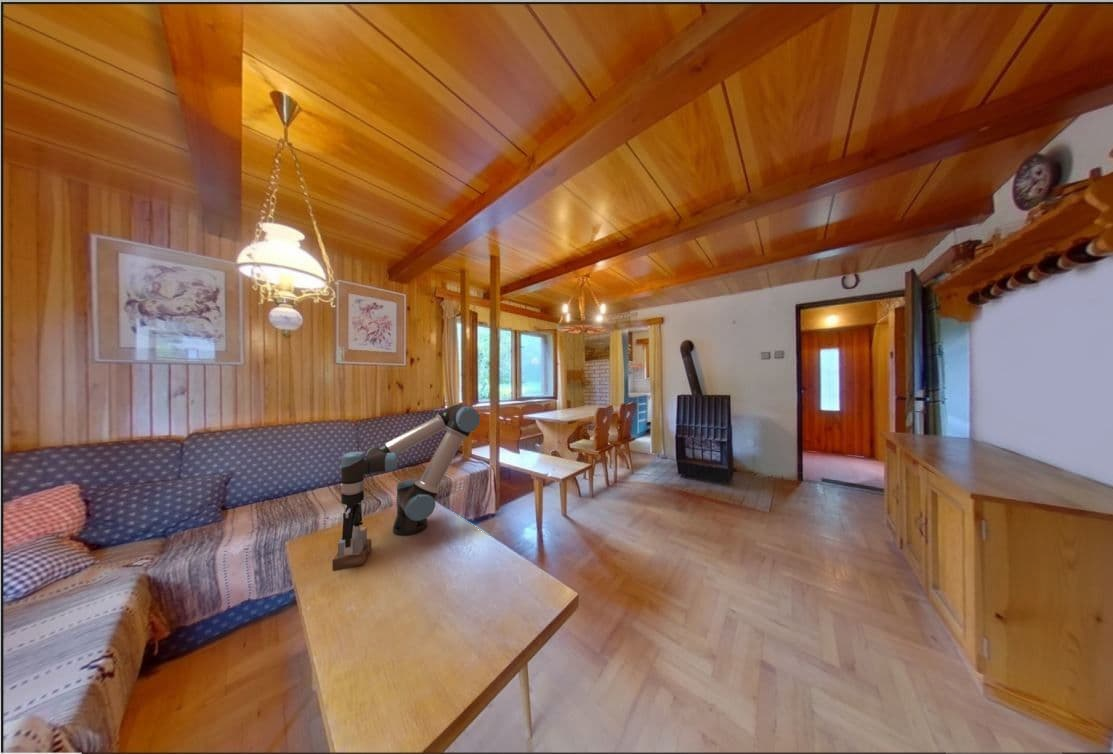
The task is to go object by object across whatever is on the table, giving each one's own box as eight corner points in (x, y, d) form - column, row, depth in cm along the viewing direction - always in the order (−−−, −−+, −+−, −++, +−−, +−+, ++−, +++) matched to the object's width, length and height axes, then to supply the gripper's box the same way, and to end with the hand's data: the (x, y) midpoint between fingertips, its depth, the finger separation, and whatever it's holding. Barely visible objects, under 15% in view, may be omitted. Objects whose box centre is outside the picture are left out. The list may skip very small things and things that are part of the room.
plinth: (344, 552, 128) (344, 542, 128) (371, 548, 131) (371, 539, 131) (332, 570, 116) (332, 559, 116) (362, 565, 119) (362, 555, 119)
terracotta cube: (351, 541, 136) (351, 528, 136) (366, 539, 138) (366, 526, 138) (346, 549, 131) (346, 535, 130) (362, 546, 132) (362, 533, 132)
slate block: (342, 545, 125) (342, 533, 125) (365, 541, 129) (365, 529, 128) (337, 556, 118) (337, 543, 118) (362, 551, 121) (362, 539, 121)
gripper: (350, 483, 132) (350, 536, 132) (331, 503, 112) (330, 565, 112) (370, 481, 134) (370, 533, 135) (354, 501, 114) (354, 561, 114)
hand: (352, 548), depth 123 cm, fingers closed on slate block, 8 cm apart
